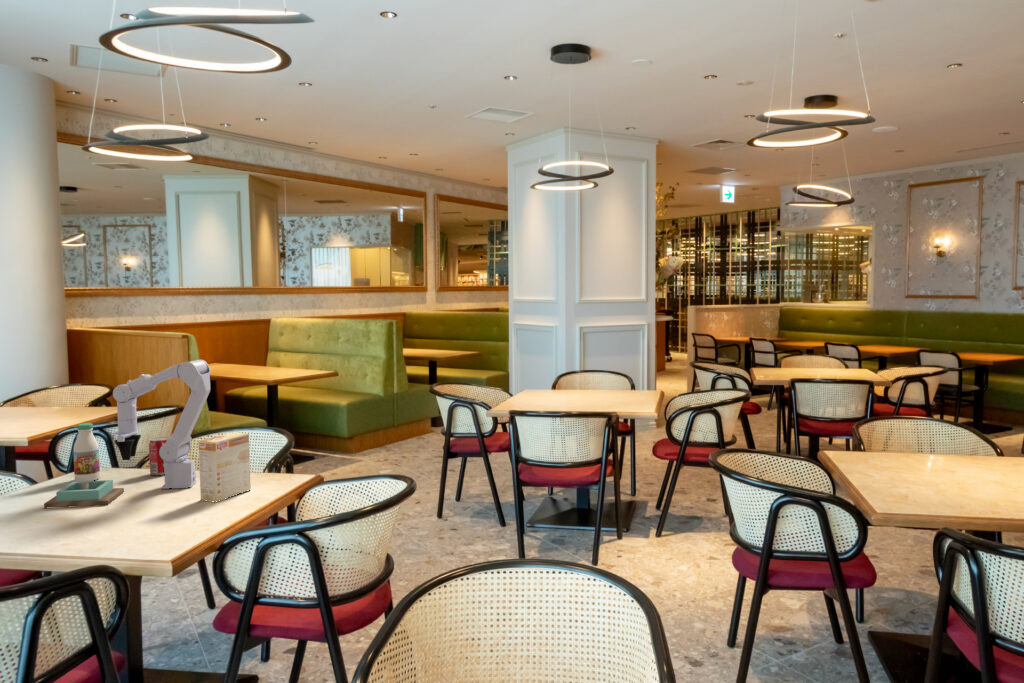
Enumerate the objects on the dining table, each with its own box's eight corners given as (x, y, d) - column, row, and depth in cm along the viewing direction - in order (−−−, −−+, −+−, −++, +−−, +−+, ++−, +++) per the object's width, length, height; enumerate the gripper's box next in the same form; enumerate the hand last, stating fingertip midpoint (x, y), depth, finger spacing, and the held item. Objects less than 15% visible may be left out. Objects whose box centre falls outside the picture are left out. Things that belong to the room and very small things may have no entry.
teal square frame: (113, 488, 231) (112, 479, 231) (99, 499, 219) (98, 490, 219) (73, 490, 229) (72, 481, 228) (56, 501, 217) (56, 492, 217)
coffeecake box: (235, 488, 237) (234, 431, 236) (251, 490, 234) (250, 433, 233) (199, 500, 224) (197, 440, 222) (215, 503, 221) (213, 442, 219)
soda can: (165, 476, 252) (164, 440, 251) (146, 476, 252) (144, 440, 251) (175, 471, 259) (174, 436, 258) (156, 471, 259) (154, 436, 258)
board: (123, 492, 232) (123, 476, 232) (108, 505, 219) (107, 487, 218) (64, 495, 229) (63, 478, 228) (44, 508, 215) (43, 490, 215)
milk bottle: (71, 480, 247) (69, 424, 246) (96, 475, 253) (93, 421, 251) (78, 484, 242) (75, 427, 241) (103, 479, 248) (100, 423, 246)
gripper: (122, 415, 246) (123, 453, 247) (106, 423, 231) (108, 463, 232) (143, 414, 247) (145, 452, 248) (129, 422, 233) (131, 462, 234)
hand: (128, 458), depth 240 cm, fingers open, 4 cm apart
